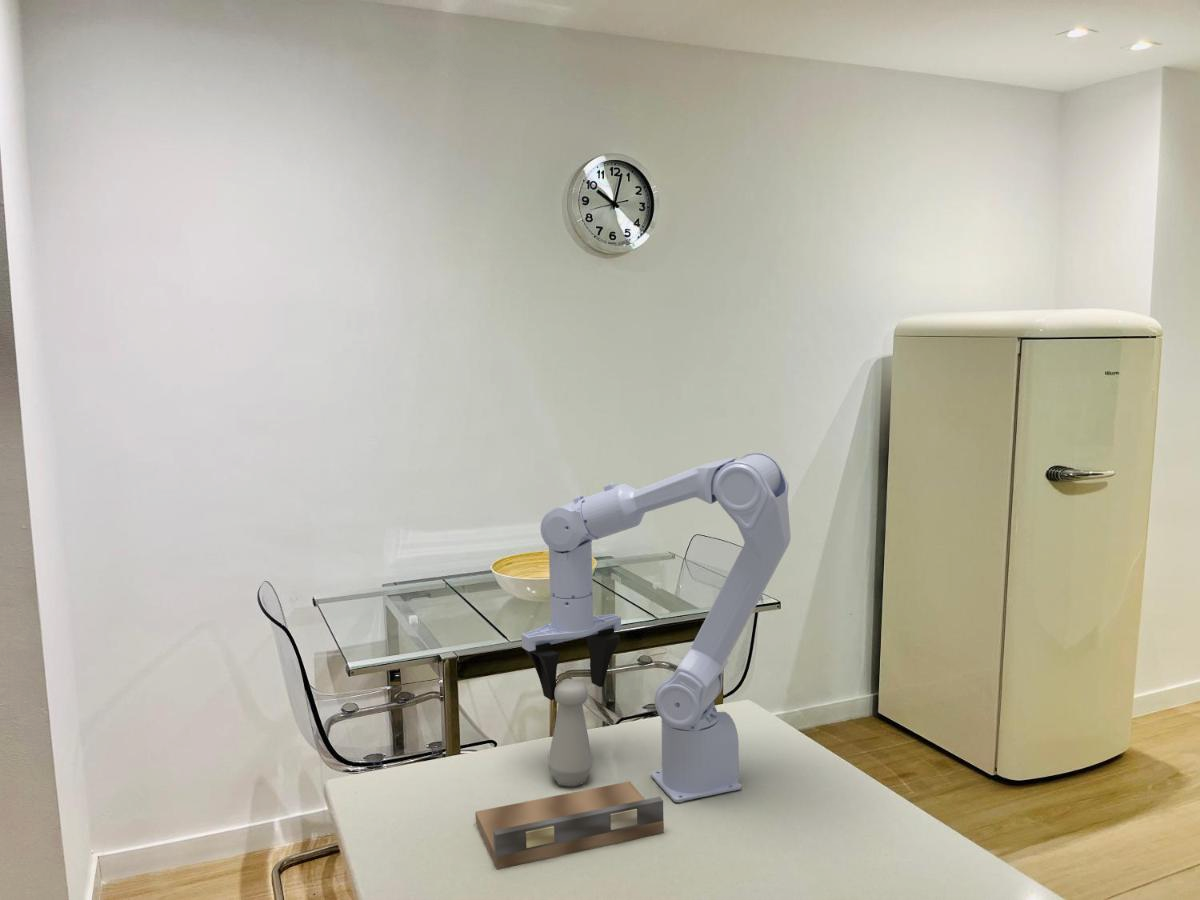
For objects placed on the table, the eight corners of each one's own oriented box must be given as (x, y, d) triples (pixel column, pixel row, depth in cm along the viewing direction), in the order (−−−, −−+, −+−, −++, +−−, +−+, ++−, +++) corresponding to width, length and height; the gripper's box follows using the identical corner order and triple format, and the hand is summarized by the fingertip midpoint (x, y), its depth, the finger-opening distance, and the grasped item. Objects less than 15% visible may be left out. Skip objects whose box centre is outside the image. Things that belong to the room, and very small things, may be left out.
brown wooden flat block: (630, 792, 119) (629, 762, 118) (664, 833, 109) (663, 801, 108) (475, 823, 112) (474, 791, 111) (497, 870, 102) (496, 835, 101)
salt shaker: (587, 792, 119) (587, 693, 118) (543, 787, 120) (543, 689, 119) (596, 772, 125) (597, 677, 123) (554, 768, 126) (555, 674, 124)
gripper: (600, 578, 131) (602, 670, 133) (509, 595, 123) (512, 694, 125) (629, 588, 126) (630, 685, 127) (535, 607, 118) (538, 710, 119)
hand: (574, 690), depth 126 cm, fingers open, 7 cm apart
